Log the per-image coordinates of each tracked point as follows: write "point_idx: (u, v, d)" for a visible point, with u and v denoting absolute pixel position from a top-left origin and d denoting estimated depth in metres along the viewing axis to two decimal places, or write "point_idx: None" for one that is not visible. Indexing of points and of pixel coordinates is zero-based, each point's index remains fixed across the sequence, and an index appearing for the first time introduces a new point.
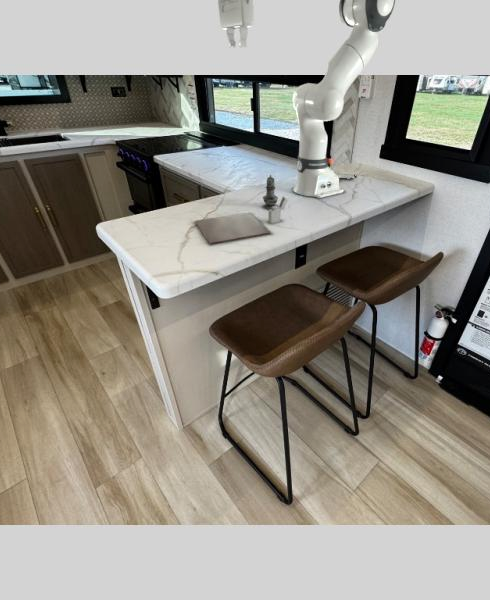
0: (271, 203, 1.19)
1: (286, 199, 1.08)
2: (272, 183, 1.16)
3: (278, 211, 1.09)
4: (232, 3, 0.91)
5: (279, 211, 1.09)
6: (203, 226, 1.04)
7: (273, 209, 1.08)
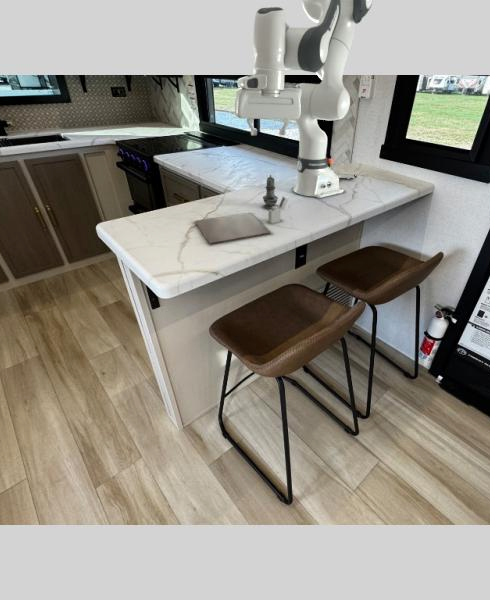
0: (271, 203, 1.19)
1: (286, 199, 1.08)
2: (272, 183, 1.16)
3: (278, 211, 1.09)
4: (276, 98, 0.93)
5: (279, 211, 1.09)
6: (203, 226, 1.04)
7: (273, 209, 1.08)
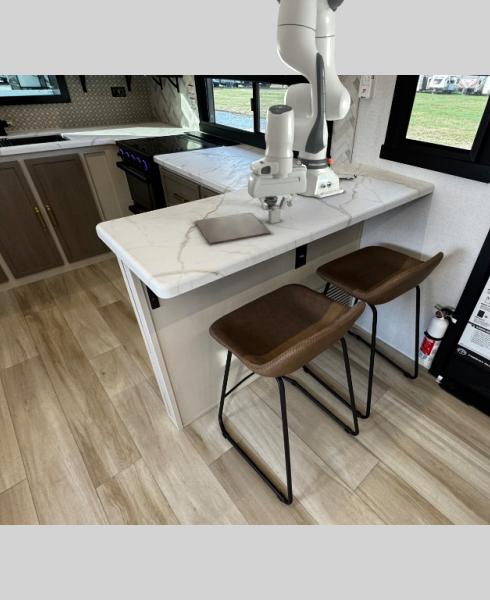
0: (271, 203, 1.19)
1: (286, 199, 1.08)
2: None
3: (278, 211, 1.09)
4: (285, 178, 1.02)
5: (279, 211, 1.09)
6: (203, 226, 1.04)
7: (273, 209, 1.08)
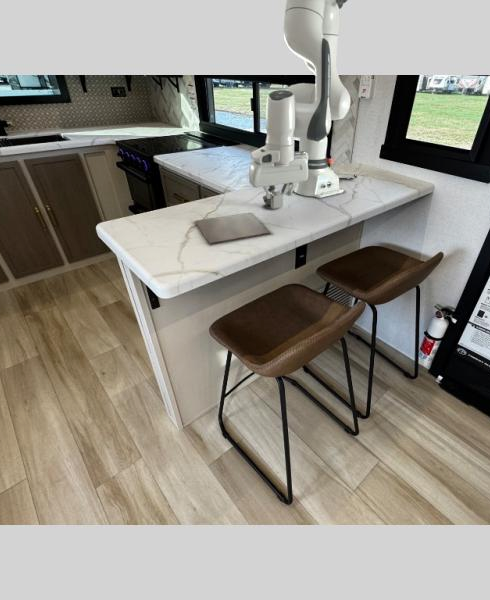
0: None
1: (289, 183, 1.06)
2: None
3: (281, 196, 1.06)
4: (287, 166, 1.01)
5: (282, 196, 1.07)
6: (203, 226, 1.04)
7: (275, 194, 1.05)
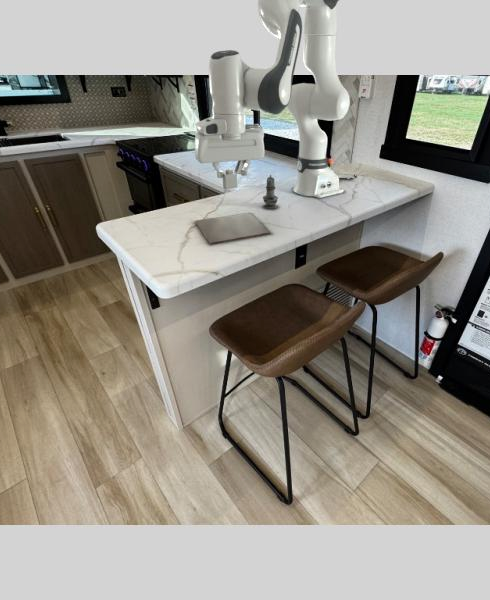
0: (271, 203, 1.19)
1: (243, 161, 0.94)
2: (272, 183, 1.16)
3: (234, 175, 0.95)
4: (238, 141, 0.89)
5: (235, 175, 0.95)
6: (203, 226, 1.04)
7: (227, 172, 0.94)
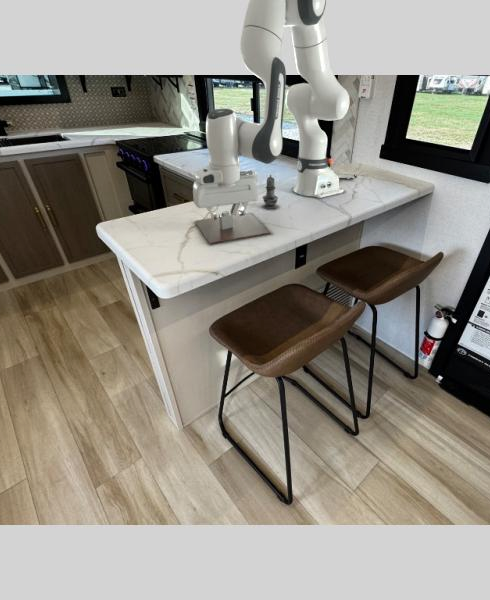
0: (271, 203, 1.19)
1: (238, 204, 1.01)
2: (272, 183, 1.16)
3: (229, 216, 1.02)
4: (233, 186, 0.96)
5: (230, 216, 1.02)
6: (203, 226, 1.04)
7: (223, 214, 1.01)
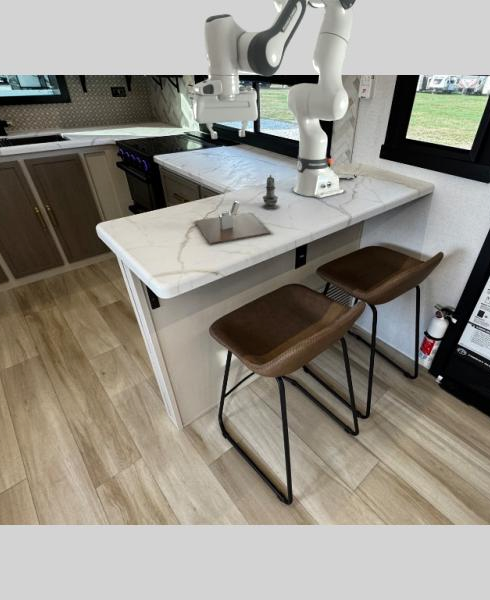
0: (271, 203, 1.19)
1: (238, 204, 1.01)
2: (272, 183, 1.16)
3: (229, 216, 1.02)
4: (233, 102, 0.97)
5: (231, 216, 1.02)
6: (203, 226, 1.04)
7: (223, 214, 1.01)
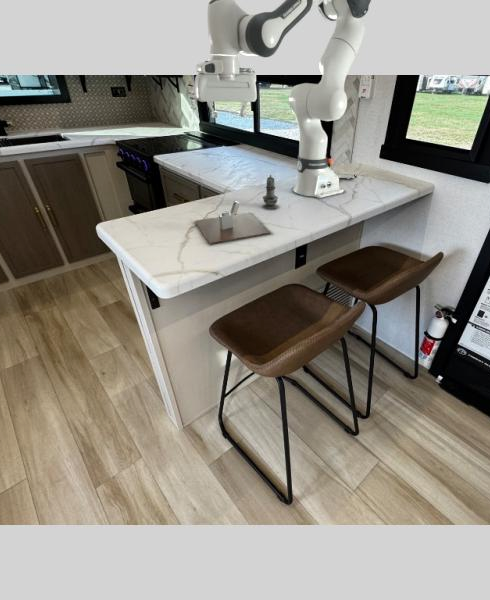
0: (271, 203, 1.19)
1: (238, 204, 1.01)
2: (272, 183, 1.16)
3: (229, 216, 1.02)
4: (233, 82, 1.02)
5: (231, 216, 1.02)
6: (203, 226, 1.04)
7: (223, 214, 1.01)
